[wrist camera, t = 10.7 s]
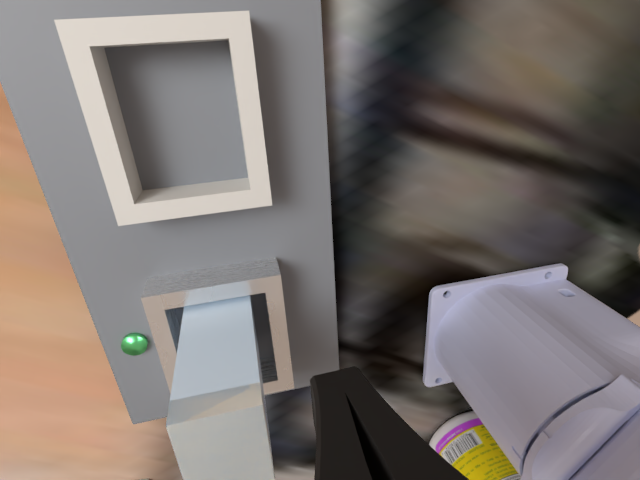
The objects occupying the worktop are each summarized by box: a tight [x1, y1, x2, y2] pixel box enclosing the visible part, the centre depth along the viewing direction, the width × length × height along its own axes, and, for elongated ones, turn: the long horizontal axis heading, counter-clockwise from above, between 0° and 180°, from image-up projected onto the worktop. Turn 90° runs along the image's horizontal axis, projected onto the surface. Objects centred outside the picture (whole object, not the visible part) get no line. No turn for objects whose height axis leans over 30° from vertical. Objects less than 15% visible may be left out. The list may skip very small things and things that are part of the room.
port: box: [121, 257, 294, 395], centre depth 20 cm, size 8×7×2 cm
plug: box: [166, 295, 275, 480], centre depth 17 cm, size 3×4×8 cm
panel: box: [0, 0, 339, 424], centre depth 19 cm, size 12×21×1 cm, turn 3°
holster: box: [54, 11, 272, 226], centre depth 15 cm, size 6×7×2 cm
